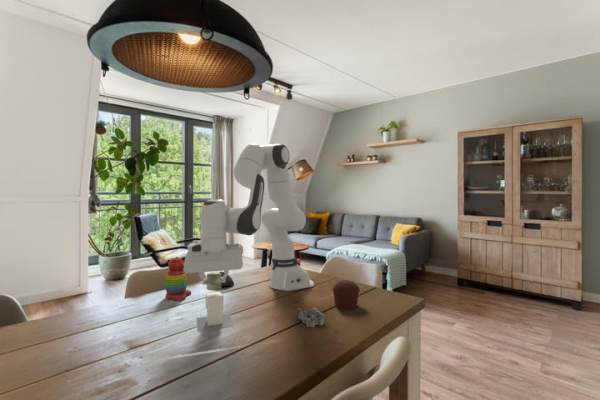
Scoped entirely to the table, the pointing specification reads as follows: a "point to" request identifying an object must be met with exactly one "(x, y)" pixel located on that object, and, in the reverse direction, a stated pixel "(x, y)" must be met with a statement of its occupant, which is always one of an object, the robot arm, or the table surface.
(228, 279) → the stone
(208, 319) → the tower bottom
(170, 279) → the stacking bear
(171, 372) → the table surface
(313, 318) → the grey jagged lump
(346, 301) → the muffin
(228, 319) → the coaster
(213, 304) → the tower top
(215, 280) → the drum
